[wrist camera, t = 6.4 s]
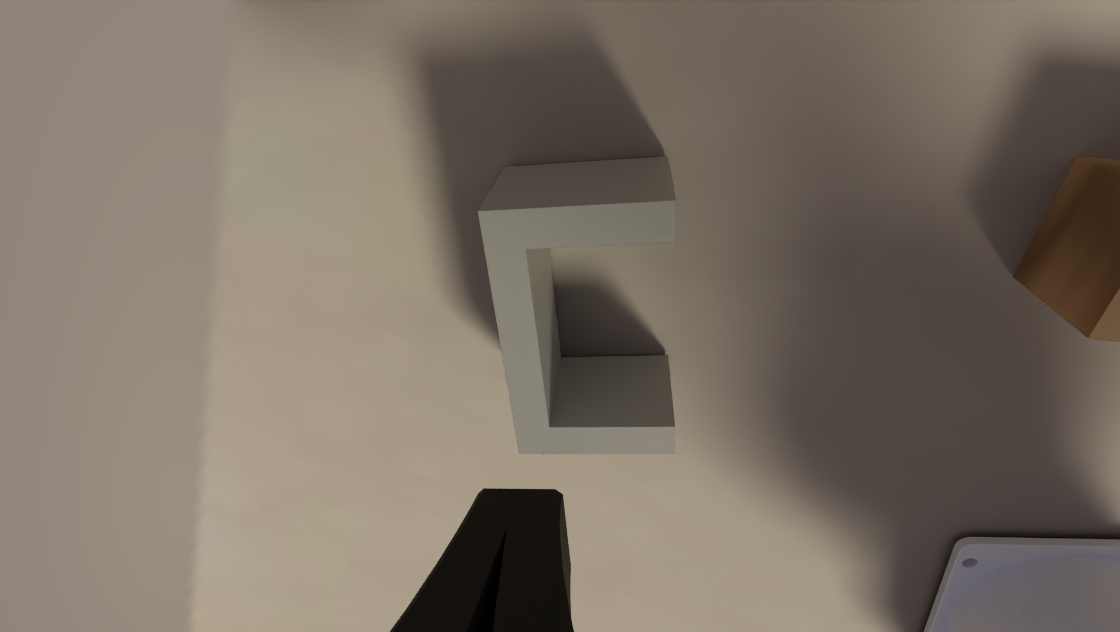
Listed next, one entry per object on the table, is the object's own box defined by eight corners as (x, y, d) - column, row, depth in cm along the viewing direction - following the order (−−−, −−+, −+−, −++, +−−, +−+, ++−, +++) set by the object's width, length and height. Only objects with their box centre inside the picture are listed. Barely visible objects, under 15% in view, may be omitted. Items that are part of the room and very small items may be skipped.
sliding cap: (667, 379, 20) (675, 453, 17) (534, 382, 21) (519, 454, 18) (667, 156, 16) (676, 200, 13) (504, 166, 17) (478, 211, 14)
